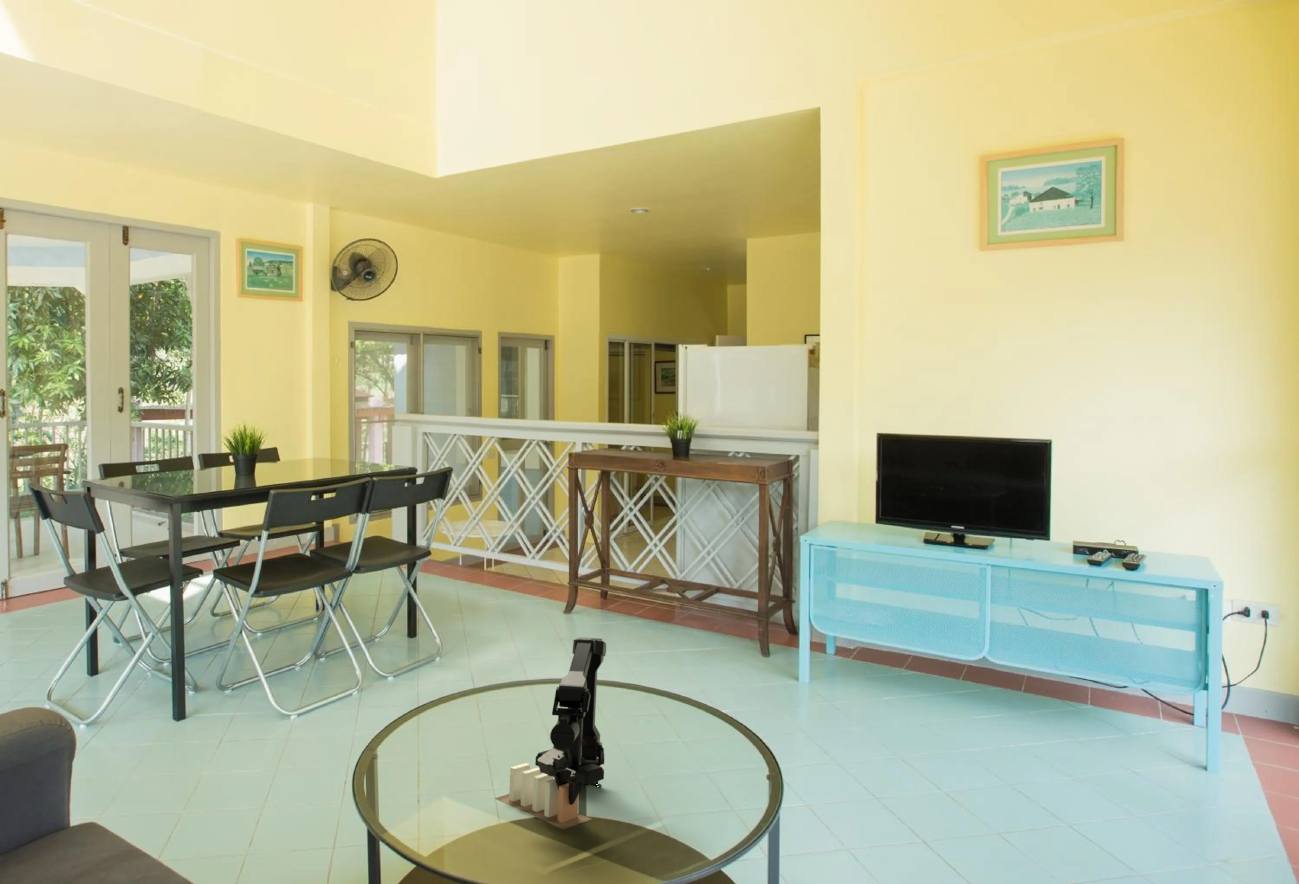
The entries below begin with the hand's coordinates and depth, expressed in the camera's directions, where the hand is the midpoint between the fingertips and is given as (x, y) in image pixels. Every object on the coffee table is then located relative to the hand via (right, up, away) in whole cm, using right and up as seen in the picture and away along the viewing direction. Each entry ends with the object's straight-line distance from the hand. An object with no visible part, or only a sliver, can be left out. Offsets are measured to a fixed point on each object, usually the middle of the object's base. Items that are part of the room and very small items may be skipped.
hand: (567, 802), depth 193 cm
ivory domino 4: (-4, -4, +3) cm, 6 cm away
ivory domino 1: (-14, -4, +12) cm, 18 cm away
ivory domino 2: (-10, -4, +9) cm, 14 cm away
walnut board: (-7, -5, +6) cm, 10 cm away
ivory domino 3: (-7, -4, +6) cm, 10 cm away
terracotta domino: (0, -4, 0) cm, 4 cm away
